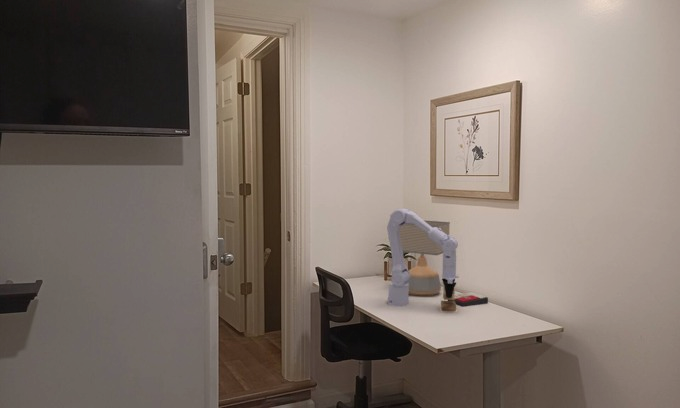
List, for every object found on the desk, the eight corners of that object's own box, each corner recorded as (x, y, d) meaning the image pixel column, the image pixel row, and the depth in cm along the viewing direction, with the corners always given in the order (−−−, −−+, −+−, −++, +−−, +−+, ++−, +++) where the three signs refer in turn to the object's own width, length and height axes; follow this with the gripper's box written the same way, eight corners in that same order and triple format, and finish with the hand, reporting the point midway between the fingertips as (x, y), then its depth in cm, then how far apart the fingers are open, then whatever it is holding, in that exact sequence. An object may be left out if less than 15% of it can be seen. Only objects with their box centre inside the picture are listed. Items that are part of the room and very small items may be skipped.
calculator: (447, 295, 241) (472, 290, 247) (447, 304, 241) (472, 299, 248) (462, 301, 231) (488, 295, 238) (462, 310, 231) (488, 305, 238)
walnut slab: (441, 310, 224) (441, 304, 224) (440, 307, 230) (441, 300, 230) (455, 311, 224) (455, 304, 223) (454, 307, 229) (454, 301, 229)
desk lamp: (449, 292, 261) (450, 220, 259) (434, 300, 245) (436, 223, 243) (409, 286, 273) (411, 217, 270) (393, 293, 257) (394, 220, 254)
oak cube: (443, 299, 225) (444, 289, 224) (443, 297, 229) (443, 287, 229) (454, 300, 224) (454, 289, 224) (453, 297, 228) (453, 287, 228)
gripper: (460, 269, 218) (459, 300, 219) (457, 262, 232) (456, 292, 233) (443, 268, 219) (442, 300, 220) (441, 262, 233) (440, 292, 234)
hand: (448, 296), depth 227 cm, fingers closed on oak cube, 4 cm apart
